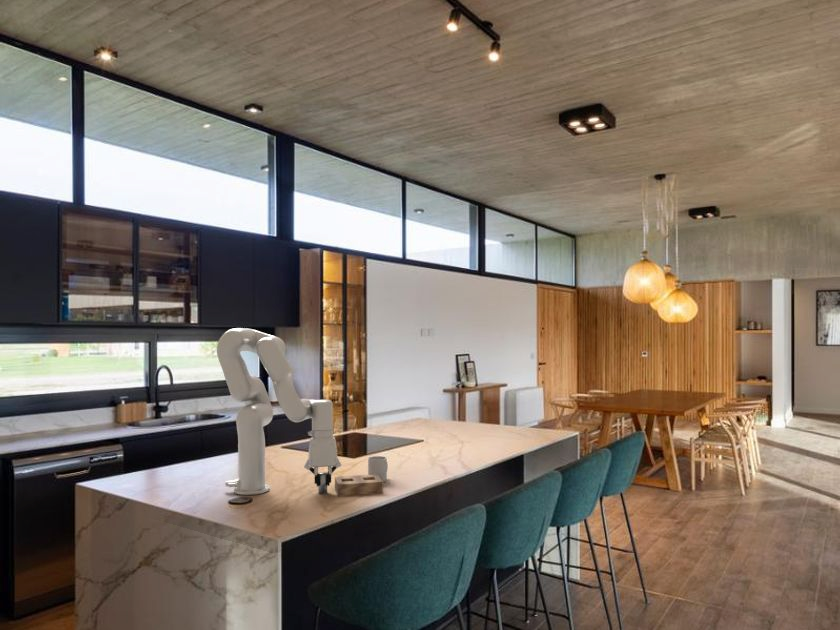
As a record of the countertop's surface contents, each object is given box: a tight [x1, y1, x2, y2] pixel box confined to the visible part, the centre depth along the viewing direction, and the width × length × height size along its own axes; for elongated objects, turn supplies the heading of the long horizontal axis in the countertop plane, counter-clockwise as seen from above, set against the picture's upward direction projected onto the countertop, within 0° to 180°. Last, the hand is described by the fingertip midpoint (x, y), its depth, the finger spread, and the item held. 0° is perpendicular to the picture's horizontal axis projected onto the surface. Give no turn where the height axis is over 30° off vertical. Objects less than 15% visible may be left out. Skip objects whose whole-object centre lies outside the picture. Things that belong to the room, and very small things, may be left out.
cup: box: [367, 455, 389, 483], centre depth 240 cm, size 7×10×9 cm
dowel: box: [317, 471, 328, 495], centre depth 222 cm, size 3×3×7 cm
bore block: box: [334, 474, 384, 497], centre depth 225 cm, size 16×12×4 cm
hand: (322, 484), depth 222 cm, fingers closed on dowel, 3 cm apart
